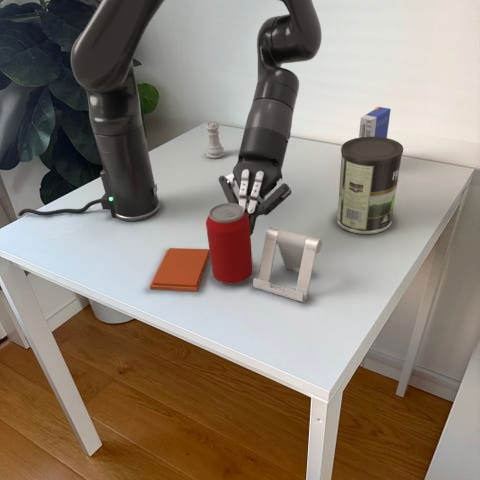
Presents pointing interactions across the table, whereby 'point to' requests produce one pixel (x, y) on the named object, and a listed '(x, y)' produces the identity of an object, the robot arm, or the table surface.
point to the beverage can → (229, 243)
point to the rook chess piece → (214, 141)
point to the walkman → (375, 123)
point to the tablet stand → (288, 261)
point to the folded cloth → (181, 269)
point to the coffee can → (368, 184)
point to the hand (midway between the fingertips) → (242, 236)
